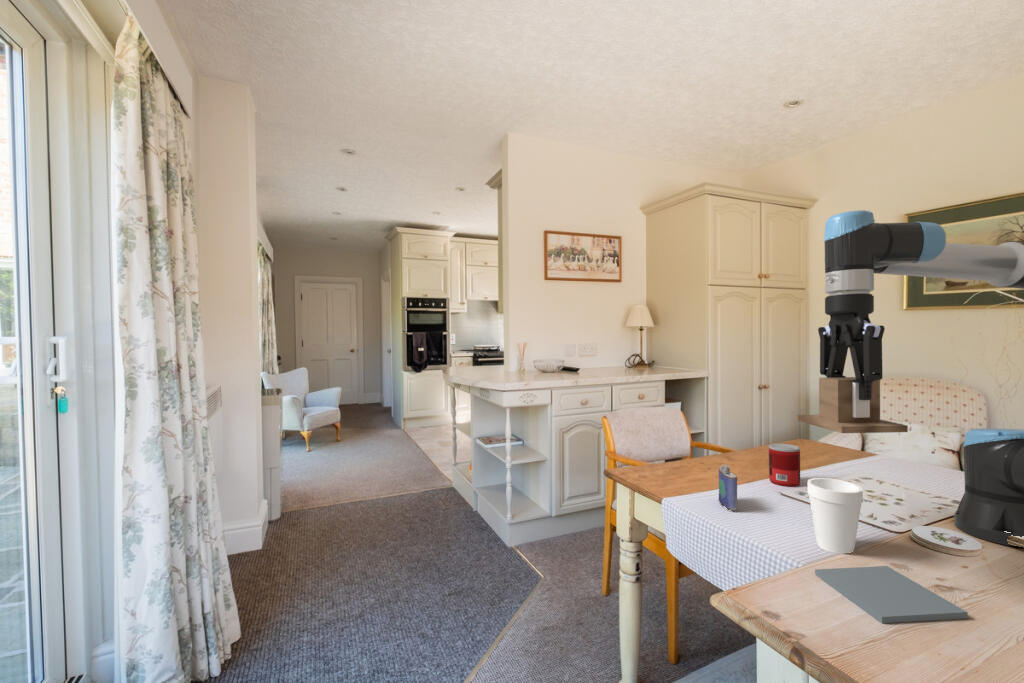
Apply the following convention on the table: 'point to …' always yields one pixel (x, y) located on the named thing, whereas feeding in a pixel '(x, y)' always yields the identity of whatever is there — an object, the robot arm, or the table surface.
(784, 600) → the table surface
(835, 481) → the foam cup
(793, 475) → the canned food
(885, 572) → the mat
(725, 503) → the flask
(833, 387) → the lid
